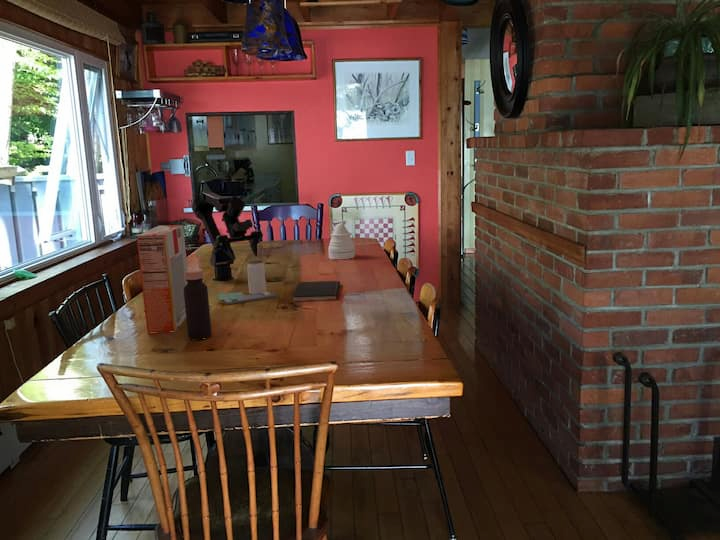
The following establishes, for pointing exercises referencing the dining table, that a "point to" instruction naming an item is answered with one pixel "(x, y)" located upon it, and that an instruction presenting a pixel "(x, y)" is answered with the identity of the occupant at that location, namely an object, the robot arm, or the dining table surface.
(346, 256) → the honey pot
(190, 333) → the bottle
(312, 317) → the dining table surface
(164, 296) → the cereal box
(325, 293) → the hardcover book
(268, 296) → the legend board
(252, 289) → the can
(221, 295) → the pad
